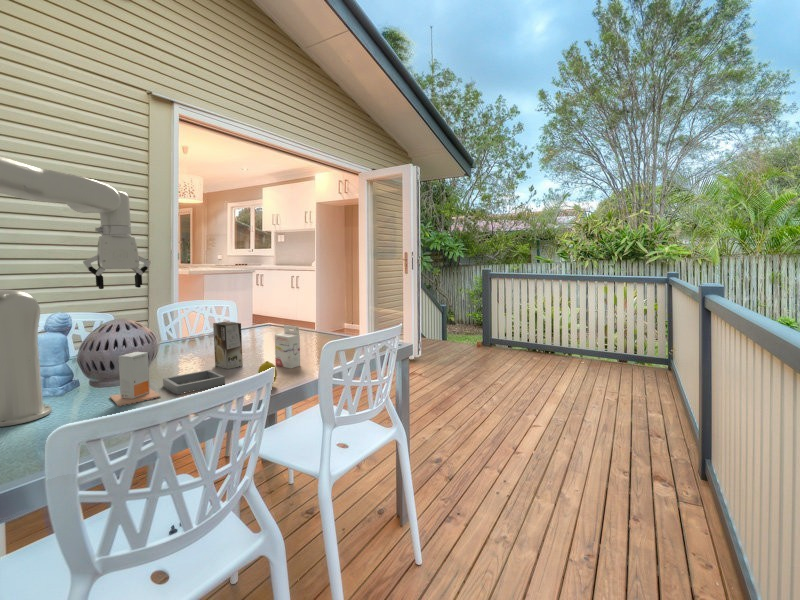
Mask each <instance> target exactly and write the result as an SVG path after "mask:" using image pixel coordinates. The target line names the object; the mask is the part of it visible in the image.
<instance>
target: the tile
mask: <svg viewBox="0 0 800 600" xmlns="http://www.w3.org/2000/svg"><path fill="white" fill-rule="evenodd" d="M157 397H160V398H161V395H160V394H159V393H158V392H156V391H154V390H153V389H152V388H150V393H148V394H145V395H142V396H139V397H136V398H134V399H126V398H121V395H120V393H118V394H114V395H113V394H112V395H109V399H110V400H111V399H112V400H113V401H114V402H115V405H116V406H117V407H122V406H121V405H124V406H127V405H126V404H128V405H132V404H131V403H133V404H137V403H136V402H138V403H141V402H140V401H142V402H145V401H144V400H147V401H150V400H149V399H151V400H154V399H153V398H156V399H158V398H157ZM112 400H111V401H112ZM113 401H112V402H113ZM114 402H113V403H114Z"/></svg>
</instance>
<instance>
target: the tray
mask: <svg viewBox="0 0 800 600" xmlns="http://www.w3.org/2000/svg"><path fill="white" fill-rule="evenodd" d="M223 384H224V385H226V376H225V375H223V374H220V373H218V372H215V371H213V370H211V369H206V370H200V371H195V372H189V373H184V374H180V375H179V374H178V375H174V376H169V377H164V378H162V387H164V388H165V389H167V390H168V389H169V390H168V391H170V392H172V393H173V392H174V393H173V394H175V395H176V394H177V396H179V395H182V394H181V393H183V394H185V393H184V392H188V393H190V392H189V391H193V390H195V391H193V392H196V391H200V390H199V389H202V390H205V388H206V389H211V388H215V387H221V386H224V385H223ZM178 394H179V395H178Z"/></svg>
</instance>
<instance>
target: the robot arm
mask: <svg viewBox="0 0 800 600" xmlns="http://www.w3.org/2000/svg"><path fill="white" fill-rule="evenodd" d="M0 194H3V195H7V196H9V197H10V196H11V197H15V198H17V199H18V198H20V199H23V200H28V201H32V202H33V201H34V202H42V203H64V204H66V205H67V206H68V207H69V208H70V209H71V210H73V211H74V212H77V213H81V214H99V215H100V219H99V220H100V226H99V227H95V228H94V231H95V233H99V234H100V236H98V241H97V253H96V255H95V256H92V257H90V258H88V259H87V258H86V259H85V260H83V261H82V263H83V265H84V266H85V267H86V269H87V271H89V272H90V273H91V274H93V275H94V276H95V286H96V287H98V289H99V290H104V288H105V285H104V276H103V275H102V274H103V273H104V272H105V271H106V270H132V271H133V272H134V273H135V274H134V287H135V288H141V286H142V285H143V274H144V273H146V271H147V270H148V269H149V267H150V265H151V260H149V259H146V258H144V257H143V256H139V251H138V245H137V241H136V238H135V236H132V225H131V210H130V209H131V207H130V197H129V195H128V193H126V192H124V191H121V190H116V189H115V188H114V187H112V186H110V185H109V184H107V183H104V182H101V181H98V180H95V179H92V178H91V179H90V178H88V177H84V176H80V175H75V174H70V173H66V172H60V171H58V170H57V171H56V170H51V169H47V168H40V167H38V166H33V165H30V164H28V163H24V162H21V161H18V160H14V159H11V158H8V157H4V156H1V155H0ZM96 261H97V266H98V268H97V269H96V268H94V267H93V266H92V263H94V262H96ZM140 262H142V263H143V266H142V267H140ZM139 267H140V268H139ZM40 318H41V307H40V305H39V302H38V301H37V300H36V298H35V297H33V296H32V295H31V294H29V293H27V292H24V291H22V290H21V291H20V290H15V289H0V428H2V427H9V426H10V427H11V426H14V425H20V424H25V423H30V422H32V421H36V420H39V419H42V418H44V417H45V416H48V415H50V414H51V413H52V406H51V405H49V404H44V402H43V401H44V400H43V399H44V398H43V389H42V376H41V365H40V364H41V363H40V352H39V342H38V341H39V340H38V339H39V337H38V333H39V324H40Z"/></svg>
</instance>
